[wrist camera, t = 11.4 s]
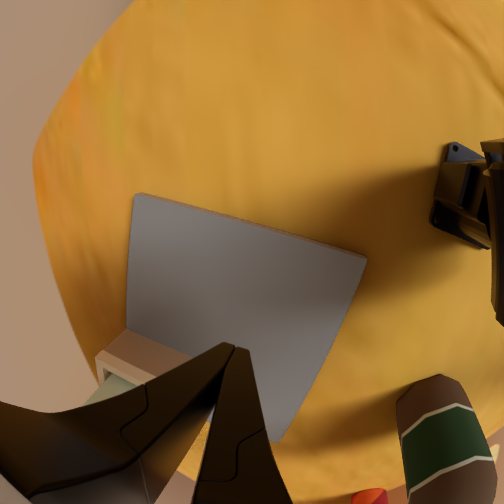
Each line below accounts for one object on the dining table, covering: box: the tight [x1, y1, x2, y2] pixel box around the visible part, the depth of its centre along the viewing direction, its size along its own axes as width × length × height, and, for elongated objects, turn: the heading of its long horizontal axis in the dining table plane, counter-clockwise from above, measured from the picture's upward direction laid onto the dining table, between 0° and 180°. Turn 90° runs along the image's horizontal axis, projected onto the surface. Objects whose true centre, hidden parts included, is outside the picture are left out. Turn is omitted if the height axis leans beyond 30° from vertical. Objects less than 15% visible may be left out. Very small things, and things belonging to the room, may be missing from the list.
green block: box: [83, 373, 137, 406], centre depth 19 cm, size 5×5×6 cm
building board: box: [95, 193, 368, 443], centre depth 21 cm, size 18×22×6 cm
